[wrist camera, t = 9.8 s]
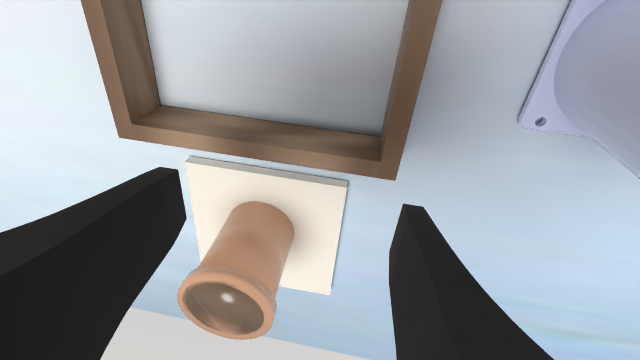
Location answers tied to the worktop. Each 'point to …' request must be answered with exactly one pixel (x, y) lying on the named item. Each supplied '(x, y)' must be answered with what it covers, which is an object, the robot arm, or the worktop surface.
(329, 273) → the ceramic tile
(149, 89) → the box
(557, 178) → the worktop surface
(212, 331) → the terracotta pot
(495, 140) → the worktop surface
